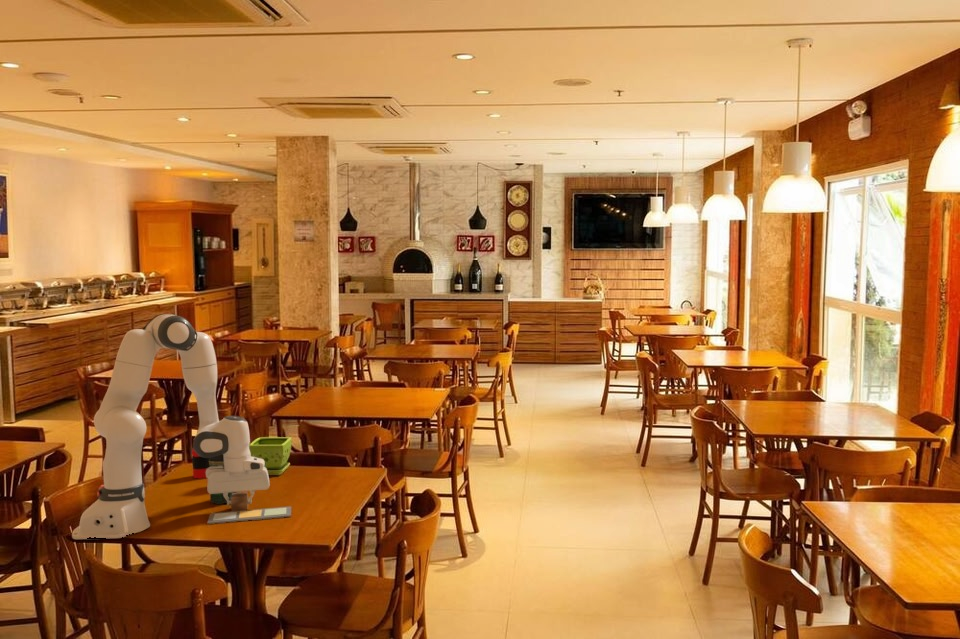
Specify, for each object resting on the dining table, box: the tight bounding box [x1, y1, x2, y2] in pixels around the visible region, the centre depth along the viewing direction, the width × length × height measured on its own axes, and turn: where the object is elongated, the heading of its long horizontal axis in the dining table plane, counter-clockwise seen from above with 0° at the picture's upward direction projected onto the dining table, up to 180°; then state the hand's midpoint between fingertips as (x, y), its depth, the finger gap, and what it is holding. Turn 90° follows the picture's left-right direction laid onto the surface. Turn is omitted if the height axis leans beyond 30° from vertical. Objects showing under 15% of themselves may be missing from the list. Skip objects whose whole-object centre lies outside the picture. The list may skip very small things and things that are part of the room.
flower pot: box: [249, 436, 293, 476], centre depth 331 cm, size 14×14×13 cm
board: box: [206, 505, 292, 525], centre depth 276 cm, size 26×10×1 cm, turn 102°
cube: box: [230, 491, 249, 512], centre depth 284 cm, size 5×5×5 cm
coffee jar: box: [209, 454, 238, 505], centre depth 294 cm, size 10×8×19 cm
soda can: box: [191, 447, 210, 480], centre depth 328 cm, size 8×8×12 cm
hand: (239, 504), depth 284 cm, fingers closed on cube, 5 cm apart
